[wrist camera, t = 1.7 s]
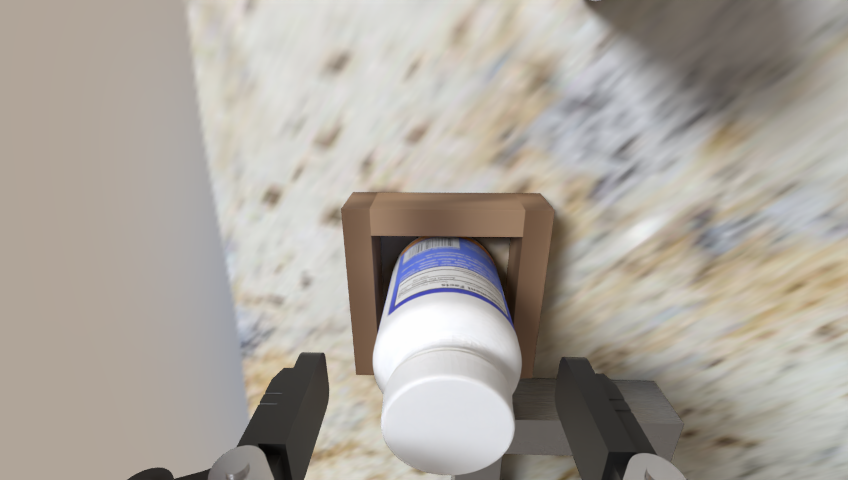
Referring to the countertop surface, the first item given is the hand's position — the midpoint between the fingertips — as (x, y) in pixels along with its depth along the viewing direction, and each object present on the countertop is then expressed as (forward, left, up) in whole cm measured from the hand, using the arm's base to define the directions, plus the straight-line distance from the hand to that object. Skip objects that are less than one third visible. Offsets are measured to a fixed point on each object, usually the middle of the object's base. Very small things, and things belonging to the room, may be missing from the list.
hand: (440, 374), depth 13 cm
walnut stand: (0, 0, -8) cm, 8 cm away
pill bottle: (0, 0, -8) cm, 8 cm away
